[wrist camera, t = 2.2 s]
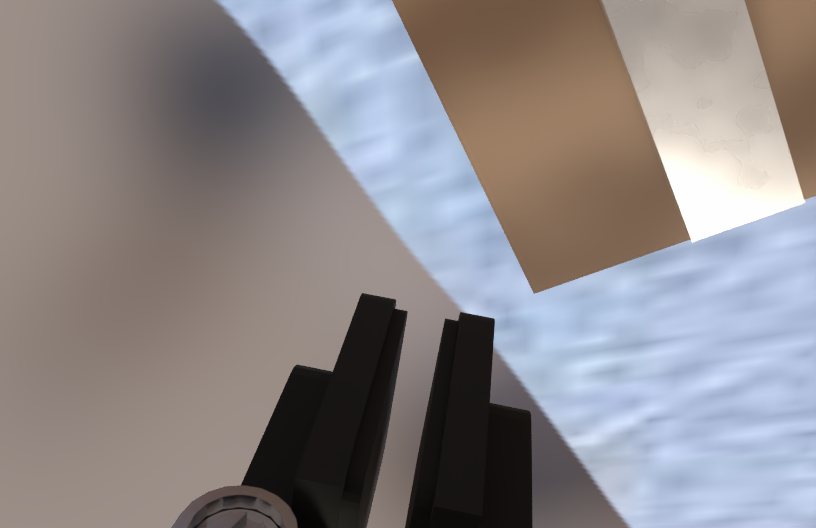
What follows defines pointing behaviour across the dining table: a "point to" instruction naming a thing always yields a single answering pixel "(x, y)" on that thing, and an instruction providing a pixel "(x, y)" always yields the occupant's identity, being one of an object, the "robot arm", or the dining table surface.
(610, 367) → the dining table surface
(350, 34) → the dining table surface
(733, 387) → the dining table surface
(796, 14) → the brown wooden board
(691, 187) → the bar
